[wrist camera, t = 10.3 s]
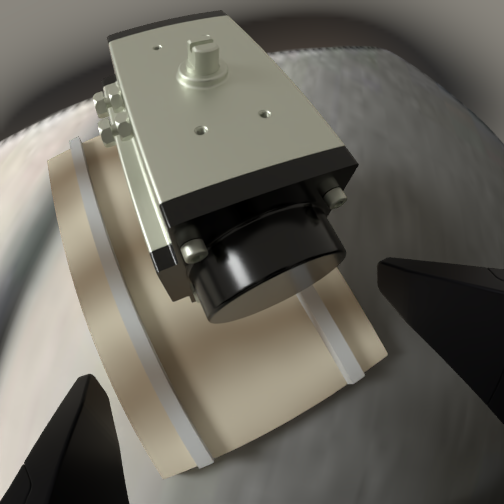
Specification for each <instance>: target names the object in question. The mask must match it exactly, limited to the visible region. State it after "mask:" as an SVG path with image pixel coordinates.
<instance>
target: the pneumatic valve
mask: <svg viewBox="0 0 504 504" xmlns="http://www.w3.org/2000/svg"><path fill="white" fill-rule="evenodd" d="M107 40H108V45H109V50H110V54H111V58H112V63H113V67H114V71H115V74H114V75H112V76H110V77H107V78H104V79H102V85H103V90H104V95H105V98H104V95H103V92H99V93H96V94H95V95H94V96H93V100H94V104H95V108H96V111H97V114H98V117H99V118H105V117H108V116H109V117H110V121H111V124H110V121H109V119H108V118H105V119H102V120H100V121H99V123H98V128H99V132H100V135H101V138H102V141H103V144H104V146H105V147H106V148H109V147H112V146H114V145H117V149H118V153H119V157H120V161H121V164H122V168H123V171H124V175H125V178H126V182H127V185H128V189H129V192H130V196H131V199H132V202H133V205H134V209H135V212H136V215H137V218H138V221H139V224H140V227H141V230H142V233H143V236H144V239H145V242H146V245H147V248H148V251H149V254H150V257H151V260H152V262H153V265H154V268H155V271H156V274H157V276H158V277H159V279H160V281H161V283H162V284H163V286H164V288H165V290H166V291H167V293H168V295H169V297H170V298H171V300H172V302H175V301H178V300H180V299H183V298H185V297H188V296H189V297H190V299H191V302H192V303H193V302H197V303H200V304H201V306H202V308H203V311H204V313H205V315H206V318H207V320H208V321H209V322H210V323H213V324H221V323H227V322H231V321H235V320H238V319H241V318H244V317H247V316H250V315H253V314H255V313H258V312H260V311H263V310H265V309H267V308H269V307H272V306H274V305H276V304H278V303H280V302H282V301H284V300H286V299H288V298H290V297H292V296H294V295H295V294H297V293H299V292H301V291H303V290H304V289H306V288H308V287H309V286H311V285H313V284H314V283H316V282H317V281H319V280H320V279H322V278H323V277H325V276H326V275H327V274H329V273H330V272H331V271H332V270H334V269H335V268H336V267H337V266H338V265H339V264H340V263H341V262H342V261H343V260H344V258H345V256H346V250H345V248H344V246H343V245H342V243H341V241H340V239H339V238H338V236H337V234H336V232H335V231H334V229H333V227H332V226H331V224H330V222H329V221H328V219H327V216H328V214H329V213H330V211H331V210H332V209H336V208H338V207H340V206H341V205H342V204H344V203H345V202H346V200H347V197H346V195H345V194H344V192H343V190H344V188H345V187H346V185H347V183H348V182H349V180H350V178H351V177H352V175H353V174H354V172H355V170H356V168H357V167H358V165H359V164H358V163H357V161H356V160H355V159H354V157H353V156H352V155H351V153H350V152H349V151H348V149H347V148H346V147H345V145H344V144H343V143H342V141H341V140H340V139H339V137H338V136H337V135H336V133H335V132H334V131H333V130H332V128H331V127H330V126H329V124H328V123H327V122H326V121H325V119H324V118H323V117H322V116H321V114H320V113H319V112H318V111H317V110H316V108H315V107H314V106H313V105H312V104H311V102H310V101H309V100H308V99H307V98H306V96H305V95H304V94H303V93H302V92H301V91H300V89H299V88H298V87H297V86H296V85H295V84H294V83H293V81H292V80H291V79H290V78H289V77H288V76H287V75H286V74H285V73H284V72H283V70H282V69H281V68H280V67H279V66H278V65H277V64H276V63H275V62H274V61H273V60H272V59H271V58H270V57H269V55H268V54H267V53H266V52H265V51H263V49H262V48H261V47H260V46H259V45H258V44H257V43H256V42H255V41H254V40H253V39H252V38H251V37H250V36H249V35H248V34H247V33H246V32H245V31H244V30H243V29H241V28H240V27H239V26H238V25H237V24H236V23H235V22H234V21H233V20H232V19H231V18H230V17H229V16H228V15H227V14H226V13H224V12H223V11H222V10H220V11H213V12H206V13H200V14H194V15H188V16H183V17H178V18H173V19H168V20H164V21H159V22H155V23H151V24H147V25H143V26H140V27H136V28H132V29H129V30H125V31H122V32H119V33H115V34H112V35H109V36H108V37H107Z"/></svg>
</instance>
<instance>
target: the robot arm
mask: <svg viewBox="0 0 504 504" xmlns="http://www.w3.org/2000/svg"><path fill="white" fill-rule="evenodd" d="M377 277H378V288H379V290H380V291H381V293H382V294H383V295H384V296H385V297H386V299H387V300H388V301H389V302H390V303H391V305H392V306H393V307H394V308H395V309H396V310H397V312H398V313H399V314H400V315H401V316H402V318H403V319H404V320H405V321H406V322H407V323H408V324H409V325H410V326H411V327H412V328H413V329H414V330H415V331H416V332H417V333H418V334H419V335H420V336H421V337H422V338H423V339H424V340H425V341H426V342H427V343H428V344H429V345H430V346H431V347H432V348H433V349H434V350H435V351H436V352H437V353H438V354H439V355H440V356H441V357H442V358H443V359H444V360H445V361H446V363H447V364H448V365H449V366H450V367H451V368H452V369H453V370H454V371H455V372H456V373H457V374H458V375H459V376H460V377H461V378H462V379H463V380H464V381H465V382H466V383H467V384H468V385H469V387H470V388H471V389H472V390H473V391H474V392H475V393H476V394H477V395H478V396H479V397H480V398H481V399H482V401H483V402H484V403H485V404H486V405H487V406H488V407H489V408H490V410H491V411H492V412H493V413H494V414H495V415H496V416H497V417H498V418H499V420H500V421H501V422H502V423H503V424H504V269H495V268H485V267H476V266H467V265H458V264H449V263H439V262H430V261H420V260H411V259H401V258H391V257H389V258H386V259H384V260H382V261H380V262H379V263H378V265H377ZM24 464H25V465H24ZM24 464H23V465H22V467H21V468H20V470H19V472H18V474H17V475H16V477H15V479H14V480H13V482H12V484H11V485H10V487H9V489H8V490H7V492H6V493H5V495H4V496H3V498H2V499H1V501H0V504H129V500H128V495H127V490H126V484H125V479H124V473H123V467H122V460H121V453H120V447H119V442H118V438H117V433H116V429H115V425H114V421H113V416H112V412H111V407H110V402H109V398H108V396H107V394H106V392H105V391H104V389H103V388H102V387H101V385H100V384H99V382H98V381H97V379H96V378H95V377H94V376H93V375H92V374H87V375H84V376H81V377H79V378H78V379H77V380H76V382H75V383H74V385H73V386H72V388H71V389H70V391H69V392H68V394H67V395H66V397H65V398H64V400H63V401H62V403H61V404H60V406H59V407H58V409H57V410H56V412H55V413H54V415H53V416H52V418H51V420H50V421H49V423H48V424H47V426H46V427H45V429H44V431H43V432H42V434H41V435H40V437H39V439H38V440H37V442H36V443H35V445H34V447H33V448H32V450H31V452H30V453H29V455H28V457H27V458H26V460H25V462H24Z"/></svg>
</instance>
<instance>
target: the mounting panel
mask: <svg viewBox="0 0 504 504" xmlns="http://www.w3.org/2000/svg"><path fill="white" fill-rule="evenodd" d="M69 143H70V148H71V149H69V150H67V151H65V152H63V153H61V154H59V155H57V156H55V157H53V158H51V159H50V160H48V161H47V163H48V170H49V177H50V183H51V189H52V195H53V200H54V205H55V210H56V215H57V220H58V225H59V229H60V234H61V238H62V242H63V246H64V250H65V254H66V258H67V261H68V265H69V269H70V272H71V276H72V279H73V282H74V286H75V289H76V292H77V295H78V299H79V302H80V305H81V308H82V311H83V314H84V316H85V319H86V322H87V325H88V328H89V330H90V333H91V336H92V338H93V341H94V344H95V346H96V349H97V351H98V354H99V356H100V359H101V361H102V363H103V366H104V368H105V370H106V373H107V375H108V377H109V380H110V382H111V384H112V386H113V388H114V390H115V393H116V395H117V397H118V399H119V401H120V403H121V405H122V407H123V409H124V411H125V413H126V415H127V417H128V419H129V421H130V423H131V425H132V427H133V429H134V430H135V432H136V434H137V436H138V438H139V440H140V441H141V443H142V445H143V447H144V448H145V450H146V452H147V454H148V455H149V457H150V459H151V460H152V462H153V464H154V465H155V467H156V469H157V470H158V472H159V473H160V475H161V477H162V478H163V479H166V478H168V477H171V476H174V475H176V474H179V473H181V472H184V471H186V470H189V469H191V468H194V467H196V466H198V468H199V469H200V468H203V467H205V466H207V465H210V464H212V463H214V459H215V458H217V457H219V456H221V455H224V454H226V453H228V452H230V451H232V450H234V449H236V448H238V447H240V446H242V445H244V444H246V443H248V442H250V441H252V440H254V439H256V438H258V437H260V436H262V435H264V434H266V433H268V432H270V431H271V430H273V429H275V428H277V427H279V426H281V425H282V424H284V423H286V422H288V421H289V420H291V419H293V418H295V417H296V416H298V415H300V414H301V413H303V412H305V411H306V410H308V409H310V408H311V407H313V406H315V405H316V404H318V403H319V402H321V401H323V400H324V399H326V398H327V397H329V396H330V395H332V394H333V393H335V392H336V391H338V390H340V389H341V388H342V387H344V386H345V385H347V384H354V383H356V382H357V381H358V380H360V379H361V378H363V377H364V376H365V374H364V372H366V371H367V370H368V369H370V368H371V367H372V366H374V365H375V364H376V363H378V362H379V361H380V360H382V359H383V358H384V357H386V356H387V355H388V353H387V352H386V350H385V348H384V346H383V344H382V343H381V341H380V339H379V337H378V336H377V334H376V332H375V330H374V329H373V327H372V325H371V323H370V322H369V320H368V318H367V316H366V315H365V313H364V311H363V310H362V308H361V306H360V305H359V303H358V301H357V300H356V298H355V296H354V294H353V293H352V291H351V290H350V288H349V286H348V285H347V283H346V281H345V280H344V278H343V276H342V275H341V273H340V272H339V270H338V268H337V267H336V268H335V269H334V270H332V271H331V272H330V273H329V274H327V275H326V276H325V277H323V278H322V279H320V280H319V281H317V282H316V283H314V284H313V285H311V286H309V287H308V288H306V289H304V290H303V291H301V292H299V293H297V294H295V295H294V296H292V297H290V298H288V299H286V300H284V301H282V302H280V303H278V304H276V305H274V306H272V307H269V308H267V309H265V310H263V311H260V312H258V313H255V314H253V315H250V316H247V317H244V318H241V319H238V320H235V321H231V322H227V323H221V324H213V323H210V322H209V321H208V320H207V318H206V315H205V313H204V311H203V308H202V306H201V304H200V303H197V302H193V303H192V302H191V299H190V297H189V296H188V297H185V298H183V299H180V300H178V301H175V302H172V300H171V298H170V297H169V295H168V293H167V291H166V290H165V288H164V286H163V284H162V283H161V281H160V279H159V277H158V276H157V274H156V271H155V268H154V265H153V262H152V260H151V257H150V254H149V251H148V248H147V245H146V242H145V239H144V236H143V233H142V230H141V227H140V224H139V221H138V218H137V215H136V212H135V209H134V205H133V202H132V199H131V196H130V192H129V189H128V185H127V182H126V178H125V175H124V171H123V168H122V164H121V161H120V157H119V153H118V149H117V145H114V146H112V147H109V148H106V147H105V146H104V144H103V141H102V138H101V135H99V136H97V137H95V138H92V139H90V140H88V141H86V142H84V143H82V142H81V140H80V138H79V136H78V137H76V138H74V139H72V140H70V141H69Z"/></svg>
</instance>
